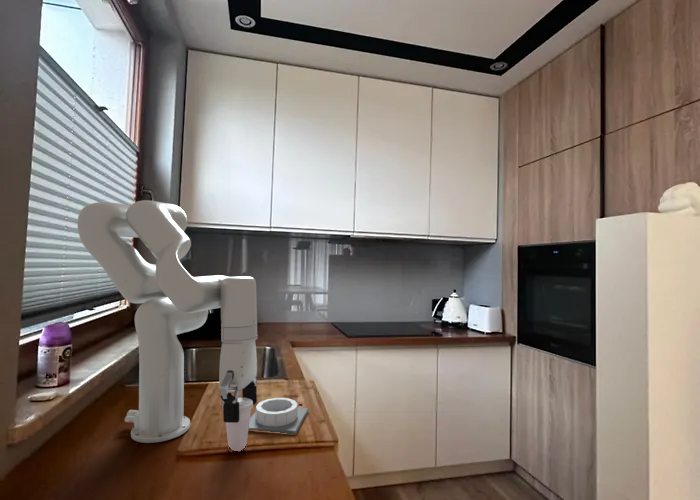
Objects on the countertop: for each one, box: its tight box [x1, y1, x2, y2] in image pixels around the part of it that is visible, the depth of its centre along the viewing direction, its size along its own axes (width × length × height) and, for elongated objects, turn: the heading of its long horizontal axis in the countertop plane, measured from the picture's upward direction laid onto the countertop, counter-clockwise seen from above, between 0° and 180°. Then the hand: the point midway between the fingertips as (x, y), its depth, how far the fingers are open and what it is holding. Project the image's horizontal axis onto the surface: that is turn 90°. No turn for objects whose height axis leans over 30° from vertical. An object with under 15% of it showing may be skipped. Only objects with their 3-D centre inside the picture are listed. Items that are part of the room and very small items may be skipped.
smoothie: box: [225, 386, 254, 452], centre depth 83 cm, size 6×6×14 cm
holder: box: [249, 397, 309, 436], centre depth 96 cm, size 13×13×4 cm
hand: (241, 412), depth 82 cm, fingers open, 9 cm apart
